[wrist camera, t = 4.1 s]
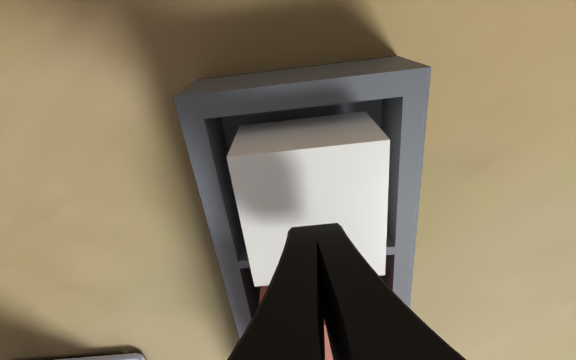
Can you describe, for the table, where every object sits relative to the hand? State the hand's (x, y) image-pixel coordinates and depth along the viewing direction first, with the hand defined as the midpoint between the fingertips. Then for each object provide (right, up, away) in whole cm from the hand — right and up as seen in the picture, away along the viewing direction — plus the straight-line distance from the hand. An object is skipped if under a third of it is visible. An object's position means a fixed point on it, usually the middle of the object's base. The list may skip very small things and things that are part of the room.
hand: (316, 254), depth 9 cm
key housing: (+1, -2, +8) cm, 9 cm away
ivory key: (0, +2, +4) cm, 5 cm away
